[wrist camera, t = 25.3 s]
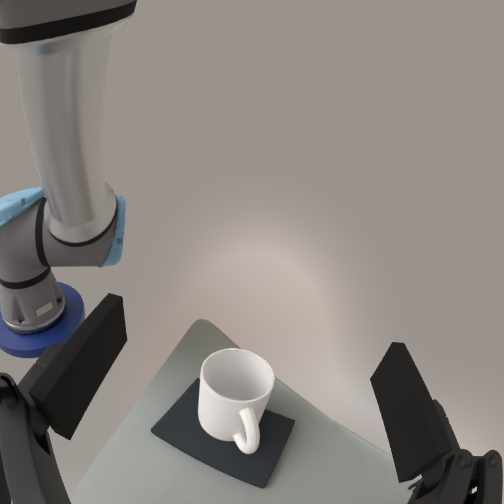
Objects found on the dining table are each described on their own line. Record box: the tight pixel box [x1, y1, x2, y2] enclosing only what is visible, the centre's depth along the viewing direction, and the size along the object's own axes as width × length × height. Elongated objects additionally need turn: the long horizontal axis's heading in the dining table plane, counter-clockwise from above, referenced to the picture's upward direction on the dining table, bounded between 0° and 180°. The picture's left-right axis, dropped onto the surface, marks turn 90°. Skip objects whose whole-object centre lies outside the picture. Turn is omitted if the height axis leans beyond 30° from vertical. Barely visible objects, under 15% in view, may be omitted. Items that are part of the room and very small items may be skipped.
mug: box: [198, 348, 275, 454], centre depth 29 cm, size 12×8×10 cm
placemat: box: [151, 378, 295, 488], centre depth 31 cm, size 16×12×1 cm
